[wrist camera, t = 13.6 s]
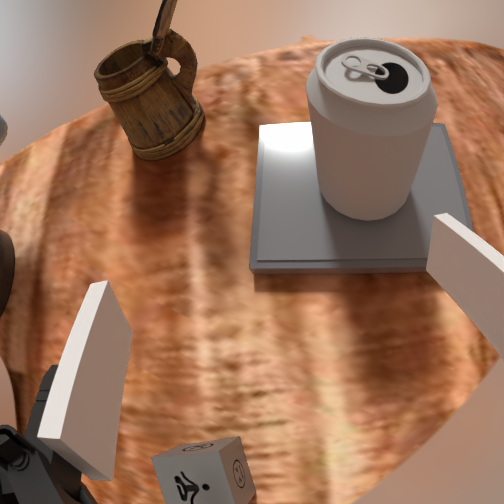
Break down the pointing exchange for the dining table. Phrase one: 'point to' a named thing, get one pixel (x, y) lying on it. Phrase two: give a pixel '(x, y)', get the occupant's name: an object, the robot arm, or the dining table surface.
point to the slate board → (337, 224)
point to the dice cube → (205, 473)
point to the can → (369, 124)
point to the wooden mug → (153, 90)
